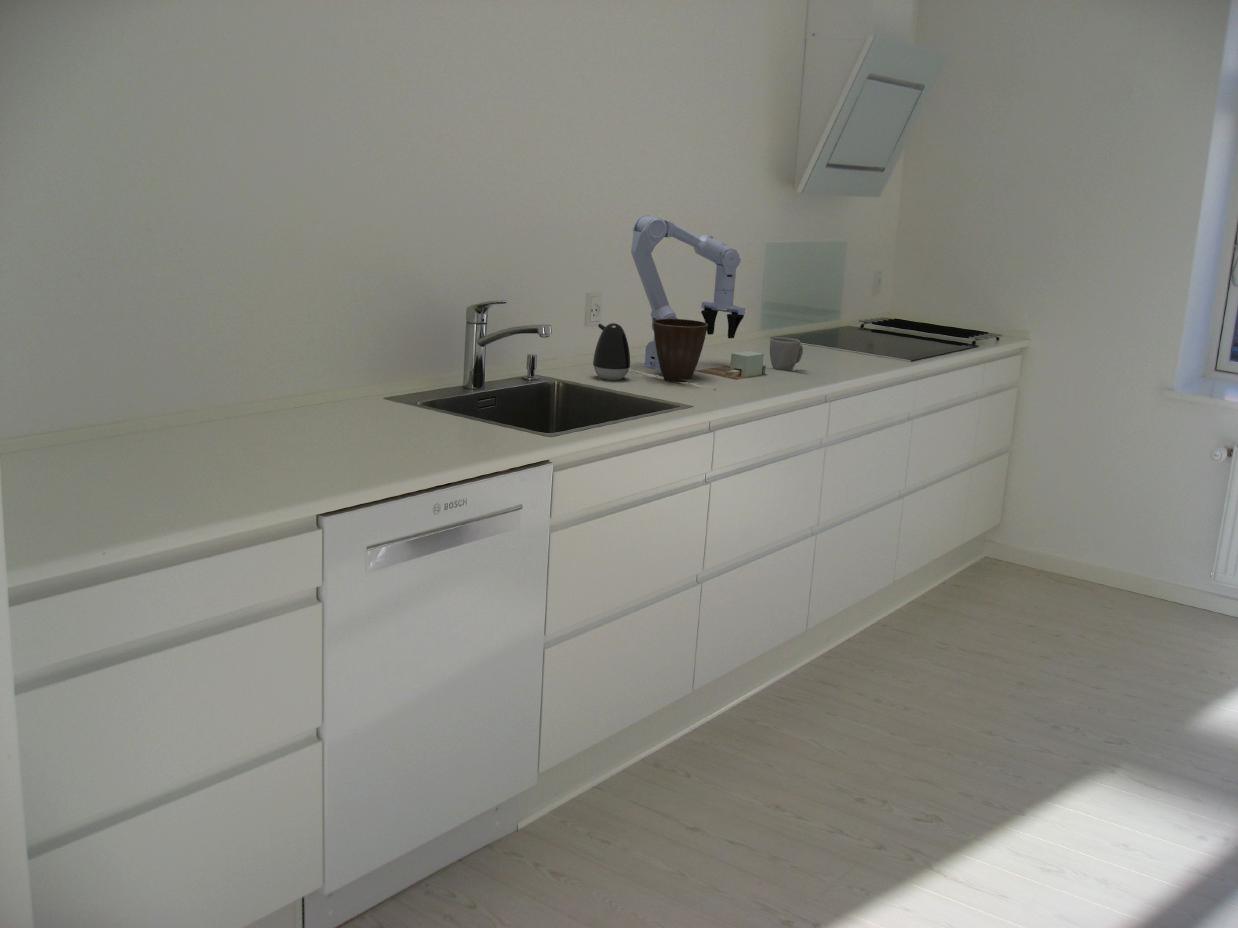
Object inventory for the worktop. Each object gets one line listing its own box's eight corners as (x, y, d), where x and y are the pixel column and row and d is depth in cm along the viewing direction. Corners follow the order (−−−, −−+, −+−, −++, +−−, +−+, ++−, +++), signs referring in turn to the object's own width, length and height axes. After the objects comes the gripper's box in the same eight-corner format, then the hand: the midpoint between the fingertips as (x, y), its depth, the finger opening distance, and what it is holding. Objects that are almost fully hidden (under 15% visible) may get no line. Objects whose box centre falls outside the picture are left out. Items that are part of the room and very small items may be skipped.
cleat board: (735, 383, 312) (736, 370, 311) (693, 374, 321) (694, 362, 320) (767, 378, 322) (768, 366, 321) (725, 369, 332) (726, 357, 331)
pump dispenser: (607, 373, 314) (611, 319, 310) (636, 379, 308) (640, 324, 304) (583, 377, 306) (586, 321, 302) (613, 383, 300) (616, 327, 296)
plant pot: (658, 385, 302) (662, 326, 298) (642, 374, 316) (646, 317, 312) (710, 385, 306) (715, 327, 302) (692, 375, 320) (697, 319, 316)
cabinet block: (745, 377, 316) (747, 356, 314) (729, 374, 319) (731, 353, 318) (761, 374, 321) (763, 354, 320) (746, 371, 325) (748, 351, 323)
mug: (782, 375, 328) (786, 342, 326) (761, 370, 335) (764, 338, 332) (810, 372, 336) (814, 340, 333) (789, 367, 342) (792, 336, 340)
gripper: (752, 292, 323) (748, 338, 327) (713, 286, 332) (709, 331, 336) (738, 293, 318) (734, 340, 321) (698, 287, 327) (694, 333, 331)
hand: (720, 336), depth 328 cm, fingers open, 7 cm apart
